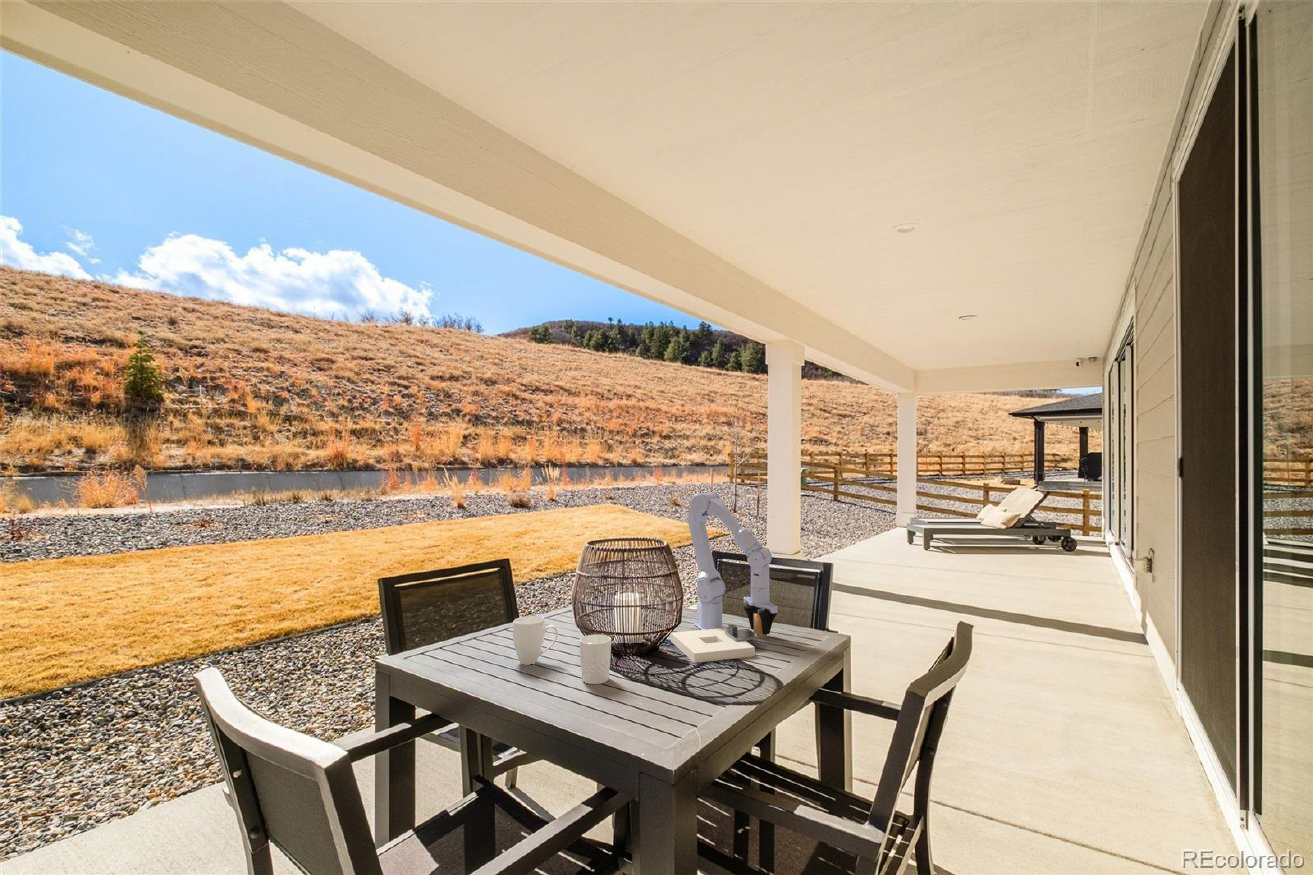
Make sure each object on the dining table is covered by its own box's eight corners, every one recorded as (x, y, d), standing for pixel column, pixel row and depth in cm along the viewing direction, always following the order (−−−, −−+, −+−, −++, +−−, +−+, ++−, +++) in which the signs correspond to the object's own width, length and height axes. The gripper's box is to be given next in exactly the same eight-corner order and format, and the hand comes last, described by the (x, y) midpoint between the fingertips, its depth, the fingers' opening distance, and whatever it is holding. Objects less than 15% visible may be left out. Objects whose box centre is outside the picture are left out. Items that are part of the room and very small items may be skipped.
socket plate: (670, 641, 179) (670, 632, 179) (725, 635, 184) (725, 627, 185) (694, 662, 160) (694, 653, 160) (754, 656, 165) (754, 647, 165)
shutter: (725, 633, 178) (724, 622, 178) (748, 631, 180) (747, 620, 180) (735, 641, 171) (735, 629, 171) (759, 638, 173) (759, 627, 173)
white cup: (617, 677, 149) (617, 637, 150) (598, 688, 142) (599, 645, 143) (592, 671, 153) (592, 632, 154) (572, 681, 146) (573, 640, 147)
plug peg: (751, 635, 185) (751, 609, 185) (763, 634, 186) (762, 608, 186) (757, 639, 181) (757, 612, 181) (769, 638, 182) (769, 611, 183)
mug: (509, 668, 156) (509, 624, 156) (516, 657, 164) (517, 615, 165) (555, 667, 156) (555, 624, 156) (560, 657, 164) (560, 615, 165)
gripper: (735, 584, 189) (736, 627, 188) (764, 593, 176) (764, 639, 175) (753, 582, 192) (754, 624, 191) (782, 590, 179) (783, 636, 179)
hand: (760, 631), depth 184 cm, fingers open, 5 cm apart
